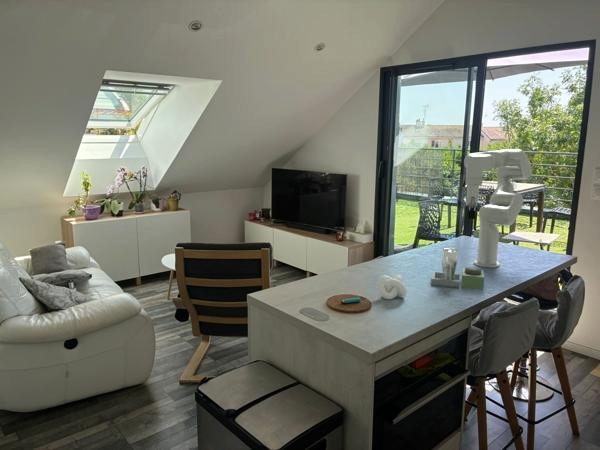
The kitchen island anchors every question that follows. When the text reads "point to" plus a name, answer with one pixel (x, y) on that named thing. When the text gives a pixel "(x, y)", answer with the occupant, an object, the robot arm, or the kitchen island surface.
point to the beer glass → (449, 263)
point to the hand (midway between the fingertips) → (471, 217)
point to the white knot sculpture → (391, 287)
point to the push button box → (470, 279)
